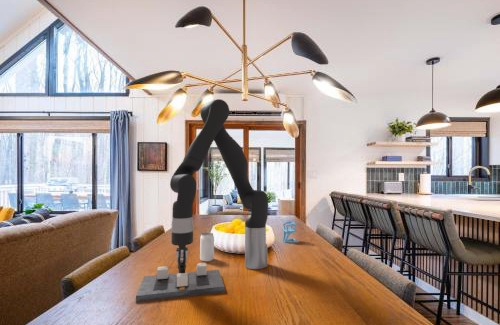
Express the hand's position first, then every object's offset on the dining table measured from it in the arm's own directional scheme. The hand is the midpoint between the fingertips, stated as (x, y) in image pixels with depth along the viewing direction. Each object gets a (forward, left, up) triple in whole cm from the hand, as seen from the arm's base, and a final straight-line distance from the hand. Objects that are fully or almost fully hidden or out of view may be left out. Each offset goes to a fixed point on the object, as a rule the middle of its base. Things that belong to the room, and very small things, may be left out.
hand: (181, 279), depth 91 cm
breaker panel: (0, -1, -3) cm, 3 cm away
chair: (-62, -50, -3) cm, 80 cm away
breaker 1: (+7, -5, -1) cm, 8 cm away
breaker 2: (-7, -5, -1) cm, 9 cm away
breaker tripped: (0, +3, -1) cm, 4 cm away
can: (-11, -29, -3) cm, 31 cm away
